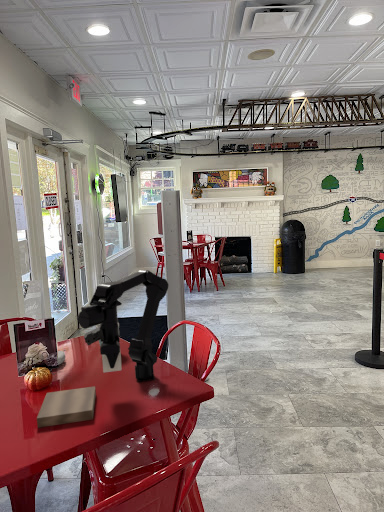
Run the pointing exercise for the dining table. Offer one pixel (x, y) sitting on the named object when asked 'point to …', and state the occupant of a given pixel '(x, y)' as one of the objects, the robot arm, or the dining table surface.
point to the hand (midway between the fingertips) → (112, 364)
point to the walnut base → (67, 407)
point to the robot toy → (61, 357)
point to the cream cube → (107, 367)
